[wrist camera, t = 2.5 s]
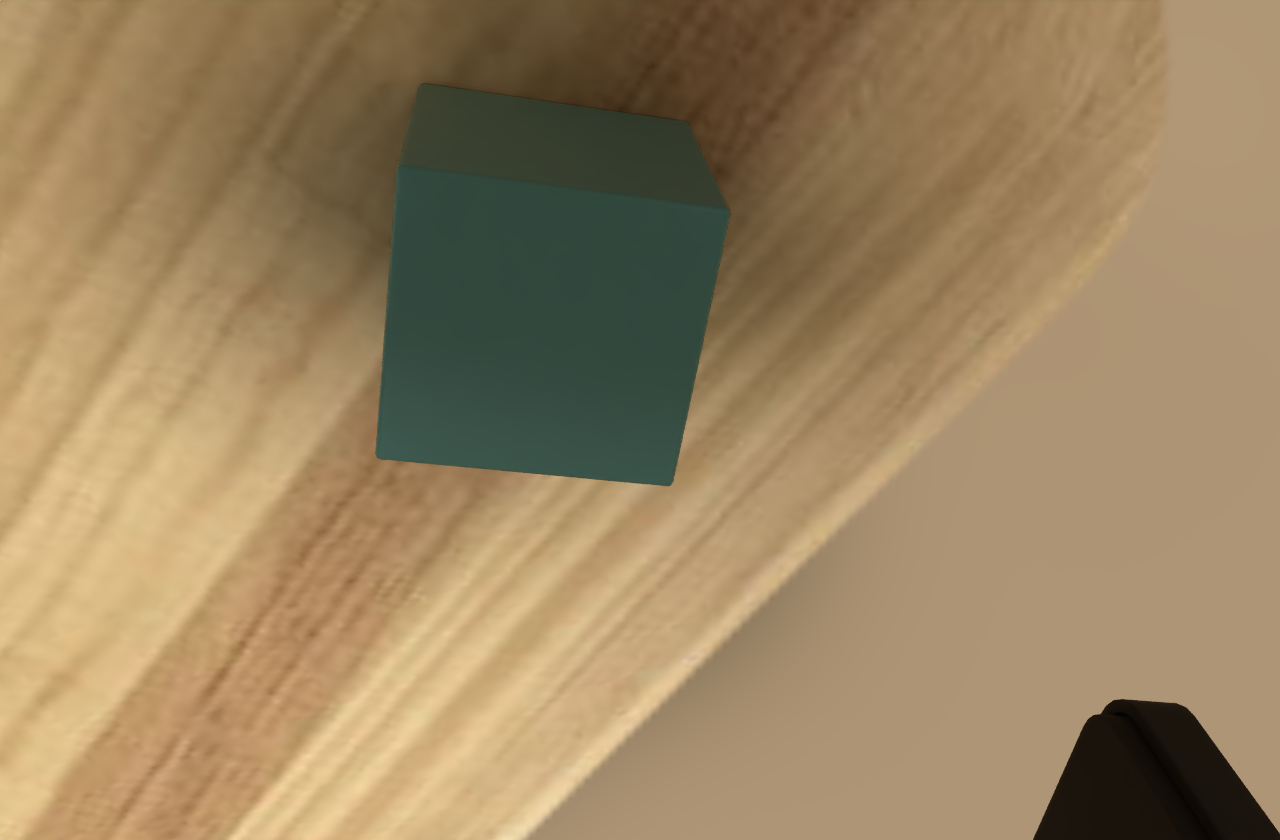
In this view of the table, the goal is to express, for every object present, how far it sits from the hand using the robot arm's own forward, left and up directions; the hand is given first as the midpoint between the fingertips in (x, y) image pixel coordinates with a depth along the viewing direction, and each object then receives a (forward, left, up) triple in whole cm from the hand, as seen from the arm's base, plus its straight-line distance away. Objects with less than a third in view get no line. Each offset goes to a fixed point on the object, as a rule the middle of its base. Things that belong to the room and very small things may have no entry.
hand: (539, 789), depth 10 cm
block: (0, 0, -13) cm, 13 cm away
